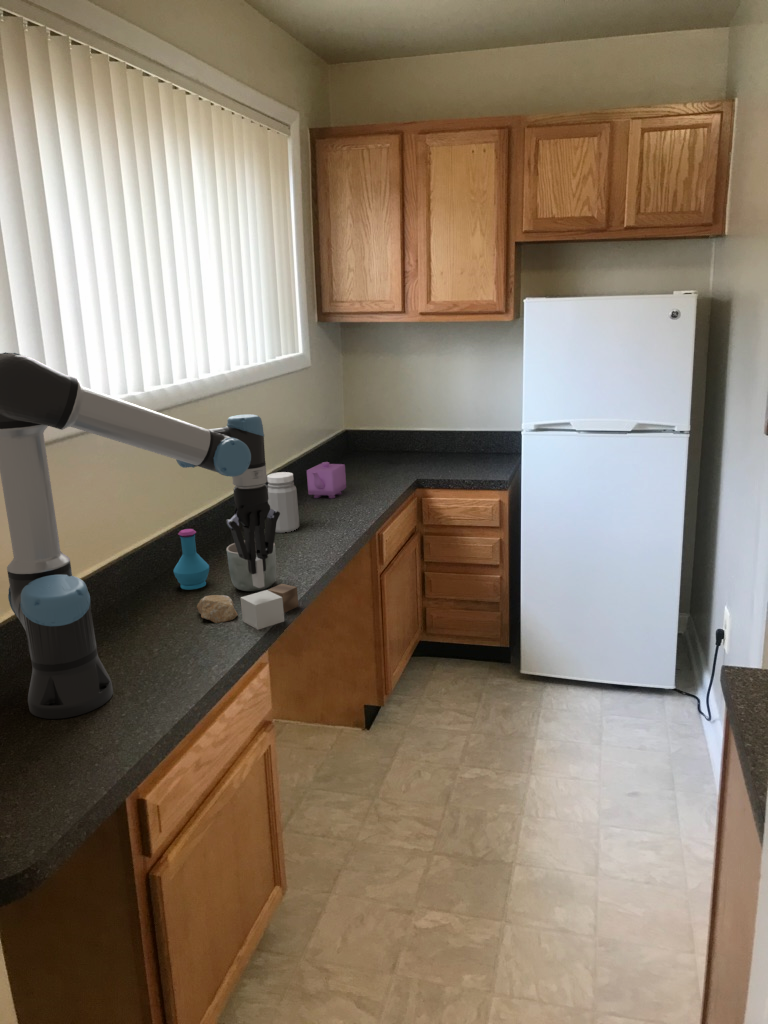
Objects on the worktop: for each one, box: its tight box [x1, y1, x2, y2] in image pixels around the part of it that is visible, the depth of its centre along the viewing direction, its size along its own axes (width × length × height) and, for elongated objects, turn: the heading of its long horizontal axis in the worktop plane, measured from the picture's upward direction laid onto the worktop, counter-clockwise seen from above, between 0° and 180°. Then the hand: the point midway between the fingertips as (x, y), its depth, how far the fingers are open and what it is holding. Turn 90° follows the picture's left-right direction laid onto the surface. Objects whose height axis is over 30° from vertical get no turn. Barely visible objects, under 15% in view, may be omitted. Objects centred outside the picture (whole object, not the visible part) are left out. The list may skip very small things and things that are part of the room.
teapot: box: [306, 461, 347, 499], centre depth 310 cm, size 20×10×12 cm, turn 159°
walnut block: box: [267, 583, 299, 614], centre depth 201 cm, size 5×5×5 cm
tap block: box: [239, 589, 285, 630], centre depth 194 cm, size 7×7×6 cm
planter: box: [226, 540, 277, 592], centre depth 217 cm, size 12×12×11 cm
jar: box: [266, 471, 300, 534], centre depth 268 cm, size 10×10×18 cm
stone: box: [196, 594, 239, 624], centre depth 199 cm, size 8×10×4 cm
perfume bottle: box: [173, 528, 210, 591], centre depth 220 cm, size 9×9×15 cm
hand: (258, 585), depth 192 cm, fingers closed
